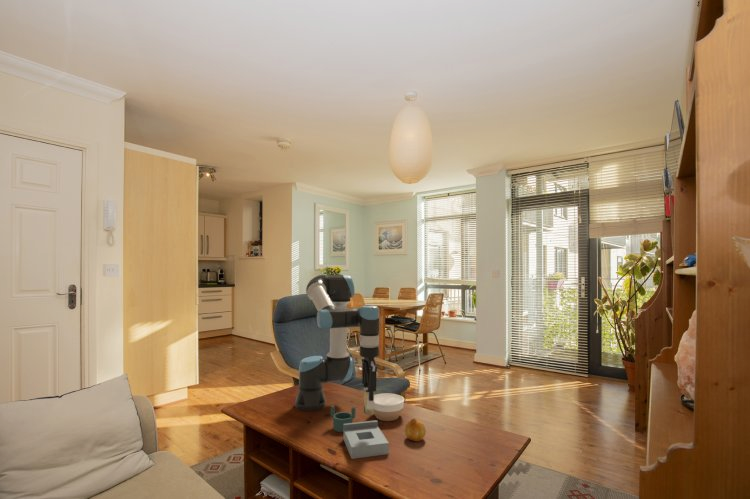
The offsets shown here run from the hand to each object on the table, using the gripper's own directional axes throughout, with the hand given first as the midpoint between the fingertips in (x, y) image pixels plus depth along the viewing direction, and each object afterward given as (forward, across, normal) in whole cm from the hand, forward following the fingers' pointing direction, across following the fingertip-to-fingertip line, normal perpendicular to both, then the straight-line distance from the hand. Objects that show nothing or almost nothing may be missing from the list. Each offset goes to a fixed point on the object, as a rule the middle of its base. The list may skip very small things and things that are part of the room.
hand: (368, 406), depth 146 cm
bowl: (+15, -25, +16) cm, 33 cm away
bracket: (+15, -18, -6) cm, 24 cm away
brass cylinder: (+2, 0, 0) cm, 2 cm away
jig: (+15, +1, -2) cm, 15 cm away
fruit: (+15, 0, +20) cm, 25 cm away
